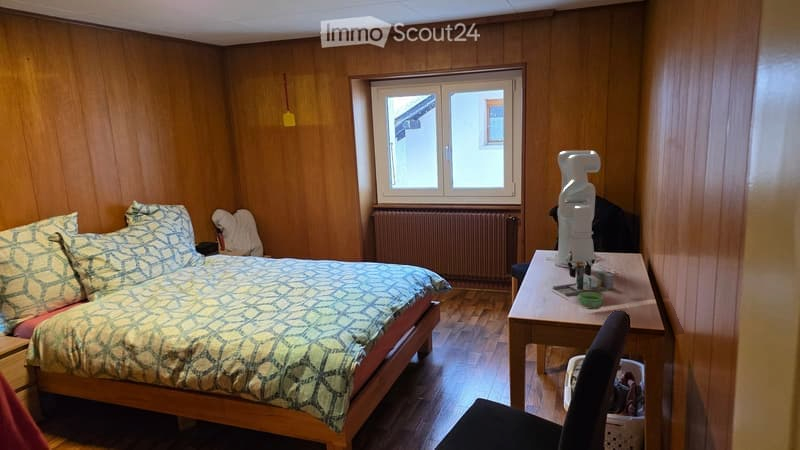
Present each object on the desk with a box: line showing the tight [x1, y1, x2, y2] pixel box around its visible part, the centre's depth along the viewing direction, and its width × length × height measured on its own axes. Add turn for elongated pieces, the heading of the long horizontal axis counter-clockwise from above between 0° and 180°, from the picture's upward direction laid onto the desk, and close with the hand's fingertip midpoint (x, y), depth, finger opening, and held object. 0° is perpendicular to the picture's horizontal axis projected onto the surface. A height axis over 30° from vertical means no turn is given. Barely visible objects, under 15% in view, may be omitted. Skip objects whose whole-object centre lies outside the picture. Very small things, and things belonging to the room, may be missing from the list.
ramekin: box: [578, 292, 604, 311], centre depth 196 cm, size 9×9×4 cm
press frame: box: [551, 269, 618, 301], centre depth 212 cm, size 12×24×8 cm, turn 106°
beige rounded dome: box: [597, 279, 601, 288], centre depth 213 cm, size 4×4×3 cm
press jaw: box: [569, 262, 597, 291], centre depth 211 cm, size 7×9×12 cm
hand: (580, 275), depth 210 cm, fingers open, 6 cm apart
